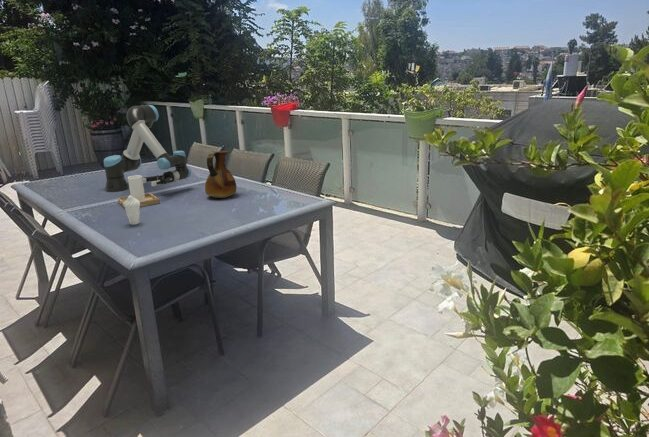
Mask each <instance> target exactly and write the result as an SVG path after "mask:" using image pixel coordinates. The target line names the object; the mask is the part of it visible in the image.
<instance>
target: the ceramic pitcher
mask: <svg viewBox="0 0 649 437" xmlns="http://www.w3.org/2000/svg"><path fill="white" fill-rule="evenodd" d="M228 154H229V151H227V150H226V151H223V150H222V151H215V150H214V151H213V150H212V151H211V152H210V153H209V154H208V155H207V157H206V165H207V169H208V172H209V174H208V176H207V177H206V181H205V184H204V191H205V194H206V195H207V196H210V197H212V198H215V199H217V198H219V199H220V198H221V199H224V198H228V197H230V196H233V195H235V194H236V192H237V183H236V182H237V181H236V180H235V177H234V175H233V174H232V172H231V171H230V170H229V169H228V168H227V166H226V156H227V155H228ZM214 158H215V168H214Z"/></svg>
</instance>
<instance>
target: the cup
mask: <svg viewBox="0 0 649 437" xmlns="http://www.w3.org/2000/svg"><path fill="white" fill-rule="evenodd" d="M142 179H143V175H139V174H138V175H137V174H136V175H130V176H127V183H128V186H129V188H128V189H129V193H130V194H129V195H131V196H132V197H133V198H135V199H137V200H139V202H143V201H146V200H145V194H146V193H145V188H144V183H143V180H142Z"/></svg>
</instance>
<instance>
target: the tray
mask: <svg viewBox="0 0 649 437" xmlns="http://www.w3.org/2000/svg"><path fill="white" fill-rule="evenodd" d="M128 197H129V195H128V196H123V197H118V198H117V202H118V204H119V205H120V206H121V207H123V209H125V207H124V204H123V203H124V202H125V201H126V199H127V198H128ZM145 200H146V201H143V202H140V206H139V207H140V208H143V207H148V206H155V205H159V204H160V203H161V202H160V198H158V196H156V195H154V194H152V193H151V192H148V193H145Z"/></svg>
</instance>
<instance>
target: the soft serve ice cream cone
mask: <svg viewBox="0 0 649 437" xmlns="http://www.w3.org/2000/svg"><path fill="white" fill-rule="evenodd" d="M128 196H129V197H128ZM128 196H127V197H128V198H127V199H126V201H125V202H124V203H123V204H124V207H125V208H124V207H123V208H124V209H125V213H126V216H127V218H128V220H129V224H130V225H133V226H134V225H138V224H140V214H141V212H140V208H141V207H139V206H140V202H139V200H137V199H135V198H133V197H132V196H131V195H130V194H129V195H128Z"/></svg>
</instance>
